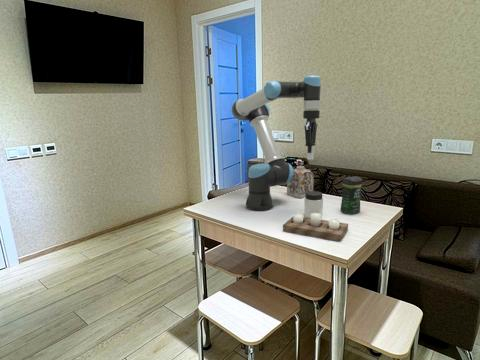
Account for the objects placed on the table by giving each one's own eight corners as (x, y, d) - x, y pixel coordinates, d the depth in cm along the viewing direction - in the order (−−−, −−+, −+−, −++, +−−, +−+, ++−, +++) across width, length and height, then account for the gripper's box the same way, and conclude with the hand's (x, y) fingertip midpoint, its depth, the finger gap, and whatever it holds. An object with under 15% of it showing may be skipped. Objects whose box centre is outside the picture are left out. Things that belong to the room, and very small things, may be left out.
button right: (327, 232, 136) (327, 221, 134) (329, 229, 139) (330, 218, 138) (337, 234, 133) (338, 223, 132) (340, 230, 137) (340, 219, 136)
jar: (325, 217, 157) (326, 194, 154) (312, 220, 153) (313, 196, 150) (314, 212, 165) (314, 190, 162) (301, 215, 161) (301, 192, 158)
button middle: (309, 226, 139) (309, 215, 138) (312, 222, 143) (312, 212, 142) (318, 227, 137) (319, 216, 136) (321, 224, 141) (322, 213, 140)
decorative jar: (313, 195, 195) (314, 166, 191) (299, 198, 189) (300, 169, 185) (300, 191, 205) (300, 164, 201) (286, 194, 199) (286, 166, 195)
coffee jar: (350, 215, 158) (352, 179, 154) (337, 211, 165) (339, 176, 161) (363, 212, 163) (365, 176, 159) (350, 208, 170) (352, 174, 166)
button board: (282, 231, 141) (282, 224, 140) (294, 221, 153) (294, 214, 152) (340, 241, 128) (340, 234, 128) (347, 230, 140) (348, 223, 140)
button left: (291, 226, 143) (291, 215, 142) (295, 223, 147) (295, 213, 146) (301, 228, 141) (301, 217, 140) (304, 224, 145) (304, 214, 144)
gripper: (315, 110, 143) (313, 161, 148) (323, 109, 154) (321, 157, 159) (299, 110, 147) (298, 160, 152) (308, 109, 158) (307, 156, 163)
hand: (310, 159), depth 156 cm, fingers closed
